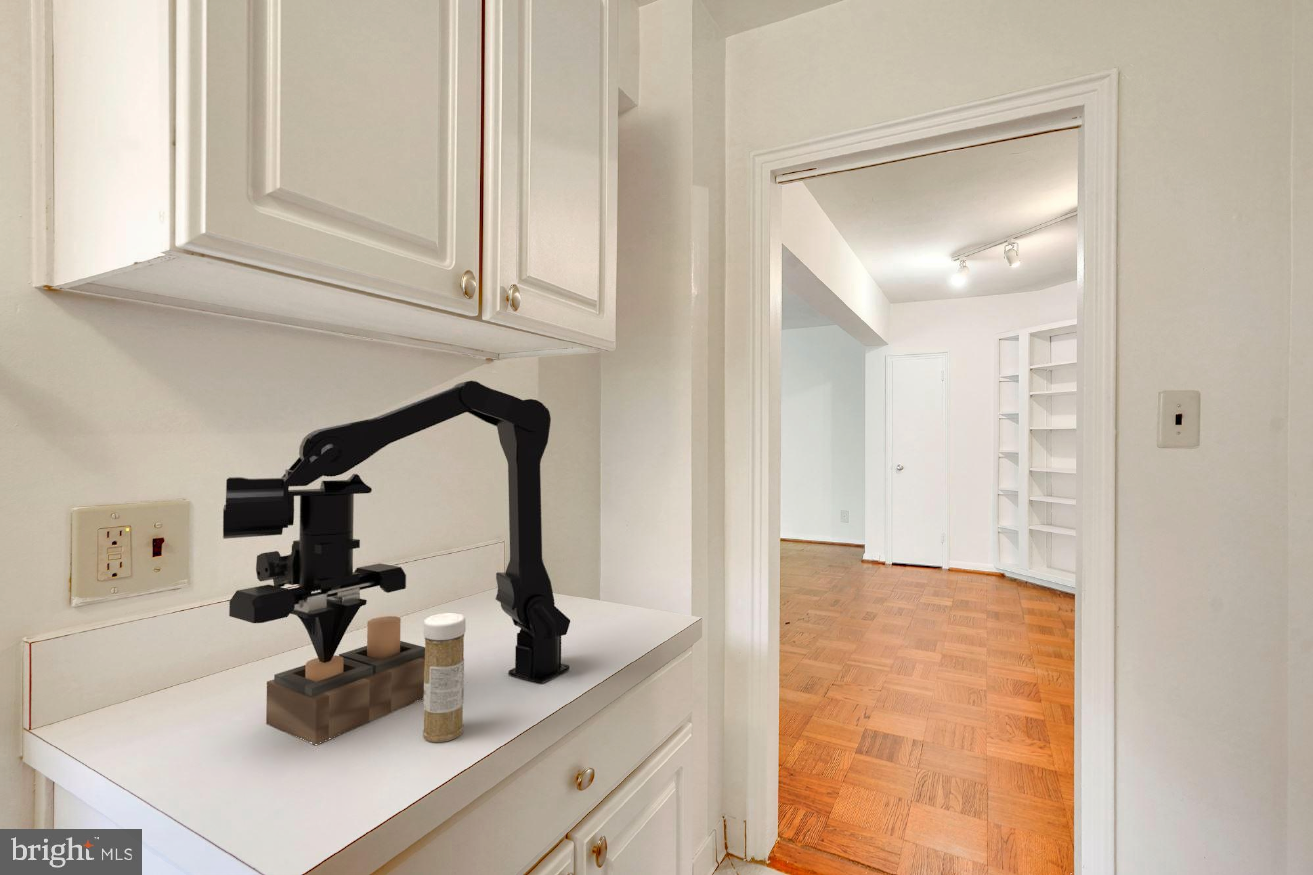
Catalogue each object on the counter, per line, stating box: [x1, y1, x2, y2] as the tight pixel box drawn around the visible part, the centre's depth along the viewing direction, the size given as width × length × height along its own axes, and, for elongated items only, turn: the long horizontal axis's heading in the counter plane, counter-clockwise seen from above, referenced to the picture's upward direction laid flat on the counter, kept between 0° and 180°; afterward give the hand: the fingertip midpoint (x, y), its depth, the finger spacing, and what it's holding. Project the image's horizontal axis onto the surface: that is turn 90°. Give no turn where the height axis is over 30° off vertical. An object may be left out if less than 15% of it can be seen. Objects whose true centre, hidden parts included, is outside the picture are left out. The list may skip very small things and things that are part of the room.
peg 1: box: [305, 655, 343, 682], centre depth 73 cm, size 4×4×6 cm
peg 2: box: [366, 615, 402, 660], centre depth 80 cm, size 4×4×6 cm
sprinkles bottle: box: [422, 612, 467, 743], centre depth 70 cm, size 5×5×14 cm
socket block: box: [265, 640, 425, 745], centre depth 76 cm, size 16×10×6 cm, turn 150°
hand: (325, 661), depth 73 cm, fingers closed, pressing on peg 1
